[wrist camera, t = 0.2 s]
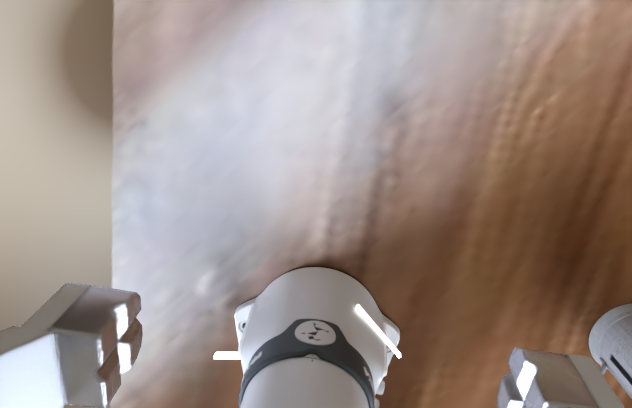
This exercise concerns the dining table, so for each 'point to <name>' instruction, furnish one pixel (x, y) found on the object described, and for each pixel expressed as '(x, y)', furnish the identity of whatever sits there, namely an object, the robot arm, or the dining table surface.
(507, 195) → the dining table surface
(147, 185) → the dining table surface
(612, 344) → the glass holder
